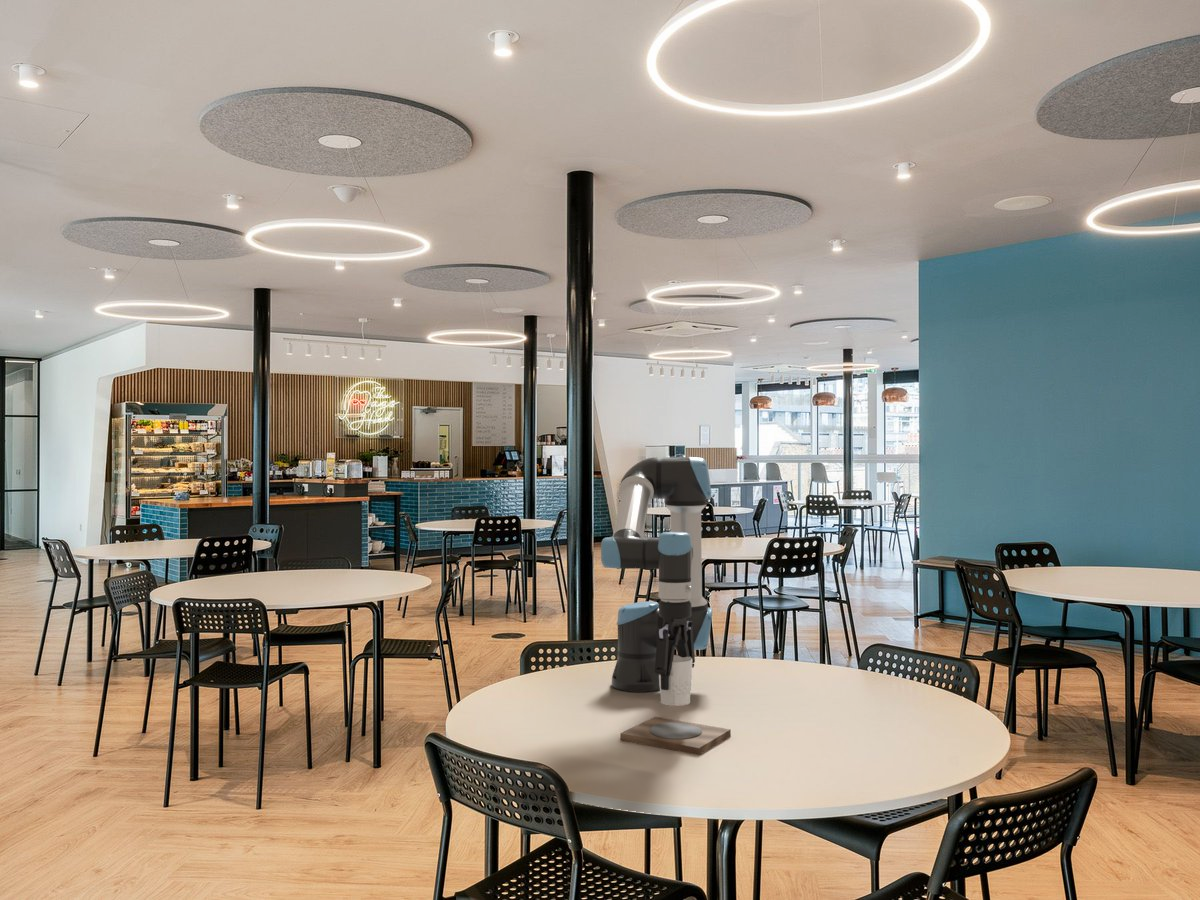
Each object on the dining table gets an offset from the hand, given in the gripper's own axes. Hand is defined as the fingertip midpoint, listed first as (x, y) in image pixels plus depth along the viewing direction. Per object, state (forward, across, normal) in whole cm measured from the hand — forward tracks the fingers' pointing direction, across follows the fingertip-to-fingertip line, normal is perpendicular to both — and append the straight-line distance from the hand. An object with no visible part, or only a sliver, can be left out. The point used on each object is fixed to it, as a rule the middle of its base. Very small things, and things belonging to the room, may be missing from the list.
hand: (675, 699), depth 205 cm
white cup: (+1, 0, 0) cm, 1 cm away
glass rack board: (+9, 0, 0) cm, 9 cm away
